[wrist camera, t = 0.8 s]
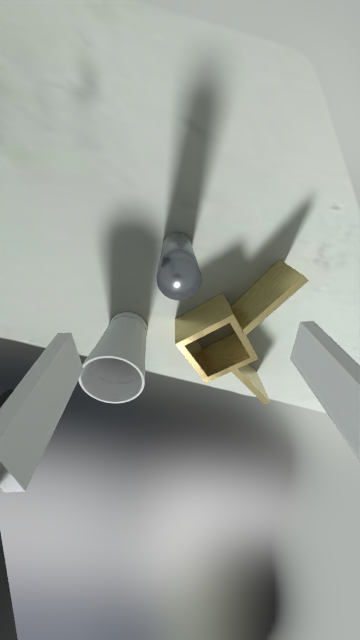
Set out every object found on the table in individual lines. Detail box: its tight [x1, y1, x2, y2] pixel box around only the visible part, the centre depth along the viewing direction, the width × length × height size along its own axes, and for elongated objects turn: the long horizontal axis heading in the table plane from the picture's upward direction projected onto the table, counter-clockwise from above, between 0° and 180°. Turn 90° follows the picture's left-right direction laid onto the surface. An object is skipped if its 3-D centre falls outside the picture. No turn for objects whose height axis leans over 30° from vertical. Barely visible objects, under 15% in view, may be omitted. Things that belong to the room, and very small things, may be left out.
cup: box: [78, 312, 147, 403], centre depth 33 cm, size 8×8×12 cm
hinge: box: [175, 259, 309, 404], centre depth 36 cm, size 19×18×7 cm
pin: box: [157, 232, 201, 300], centre depth 26 cm, size 4×4×13 cm
